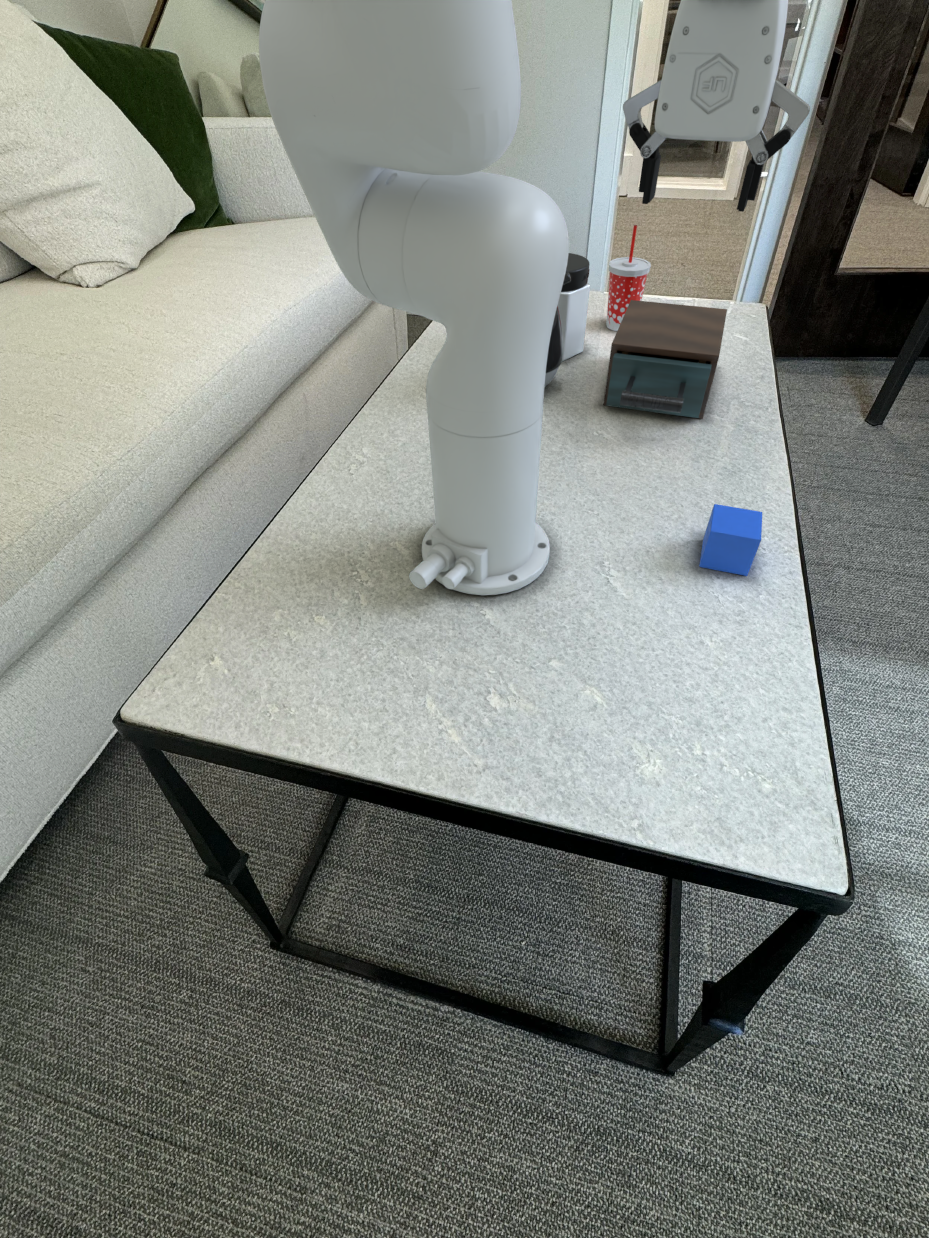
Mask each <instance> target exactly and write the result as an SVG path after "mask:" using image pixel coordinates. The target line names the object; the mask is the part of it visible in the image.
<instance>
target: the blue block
mask: <svg viewBox="0 0 929 1238" xmlns="http://www.w3.org/2000/svg"><path fill="white" fill-rule="evenodd" d="M762 531H763V511H759V510H752V509H748V508H741V507H736V506H735V507H734V506H731V505H723V504H719V503H714V504H713V506H712V509H711V513H710V515H709V519H708V522H707V525H706V529H705V532H704V535H703V539H702V545H701V551H700V558H699V564H698V565H699V568H703V569H709V570H714V571H719V572H724V573H729V574H734V575H739V576H744V577H748V575H749V573H750V570H751V568H752V565H753V562H754V560H755V558H756V554H757V552H758V551H759V548H760V544H761V542H762Z"/></svg>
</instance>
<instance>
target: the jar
mask: <svg viewBox="0 0 929 1238" xmlns="http://www.w3.org/2000/svg"><path fill="white" fill-rule="evenodd" d="M566 273H569V274H570V275H571V281H570V282H569V283H566V284H564V285H563V286H562V289H561V293H560V297H559V301H558V307H559V312H560V317H561V324H562V335H563V359H562V362H564V361H567V360H568V359H570V358H572V357H575V356H577V355H579V354H581V353H583V352H584V346H585V337H586V330H587V329H586V328H587V319H588V318H587V317H588V310H589V300H590V292H591V284H590V283H589V278H590V260H589V259H588V258H586V257H585V256H583V255H580V254H577V253H573V252H569V253H568V262H567V268H566Z"/></svg>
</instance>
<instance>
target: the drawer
mask: <svg viewBox="0 0 929 1238" xmlns="http://www.w3.org/2000/svg"><path fill="white" fill-rule="evenodd" d="M705 363H706V361H704V360H696V359H687V358H678V357H670V356H661V355H652V354H644V353H635V352H627V351H622V354H618V353H615V354H614V357H613V362H612V369H611V376H610V383H609V390H608V397H607V404H606V405H607V406H606V405H605V406H606V407H614V408H620V407H621V408H622V409H629V410H635V411H641V412H642V411H643V412H649V411H650V413H659V414H663V415H670V416H671V415H672V416H678V415H679V416H678V417H686V418H694V419H700V418H699V414H700V410H701V406H702V402H703V398H704V394H705V390H706V386H707V382H708V379H709V375H710V371H711V366H712V365H711V364H705ZM621 408H620V409H621Z"/></svg>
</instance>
